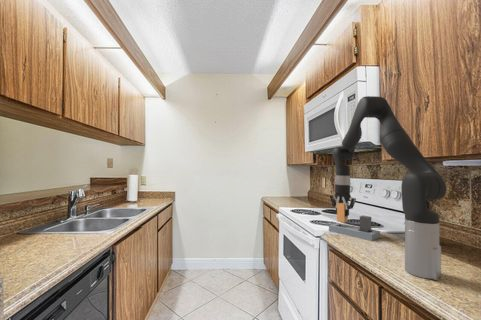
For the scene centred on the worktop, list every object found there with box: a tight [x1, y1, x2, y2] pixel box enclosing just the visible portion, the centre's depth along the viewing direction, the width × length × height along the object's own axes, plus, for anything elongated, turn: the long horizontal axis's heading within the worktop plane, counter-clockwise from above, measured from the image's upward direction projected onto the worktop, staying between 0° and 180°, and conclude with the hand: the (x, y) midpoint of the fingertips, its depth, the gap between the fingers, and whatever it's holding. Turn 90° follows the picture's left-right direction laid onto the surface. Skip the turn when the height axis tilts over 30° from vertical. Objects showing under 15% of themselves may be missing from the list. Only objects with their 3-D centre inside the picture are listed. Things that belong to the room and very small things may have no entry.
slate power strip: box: [328, 215, 381, 242], centre depth 127 cm, size 22×10×10 cm, turn 40°
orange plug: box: [336, 202, 349, 224], centre depth 132 cm, size 4×4×10 cm
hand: (342, 215), depth 132 cm, fingers closed on orange plug, 4 cm apart
